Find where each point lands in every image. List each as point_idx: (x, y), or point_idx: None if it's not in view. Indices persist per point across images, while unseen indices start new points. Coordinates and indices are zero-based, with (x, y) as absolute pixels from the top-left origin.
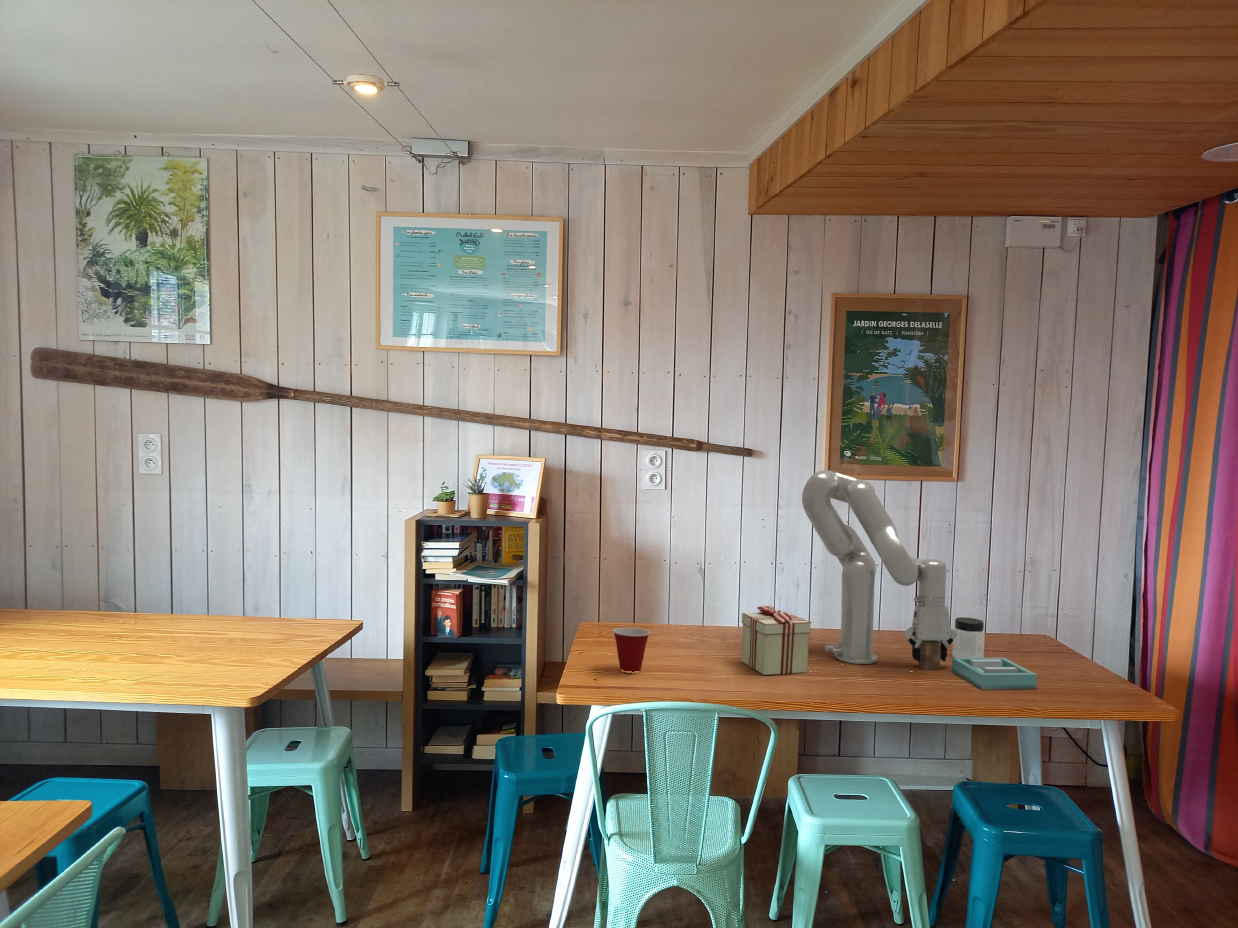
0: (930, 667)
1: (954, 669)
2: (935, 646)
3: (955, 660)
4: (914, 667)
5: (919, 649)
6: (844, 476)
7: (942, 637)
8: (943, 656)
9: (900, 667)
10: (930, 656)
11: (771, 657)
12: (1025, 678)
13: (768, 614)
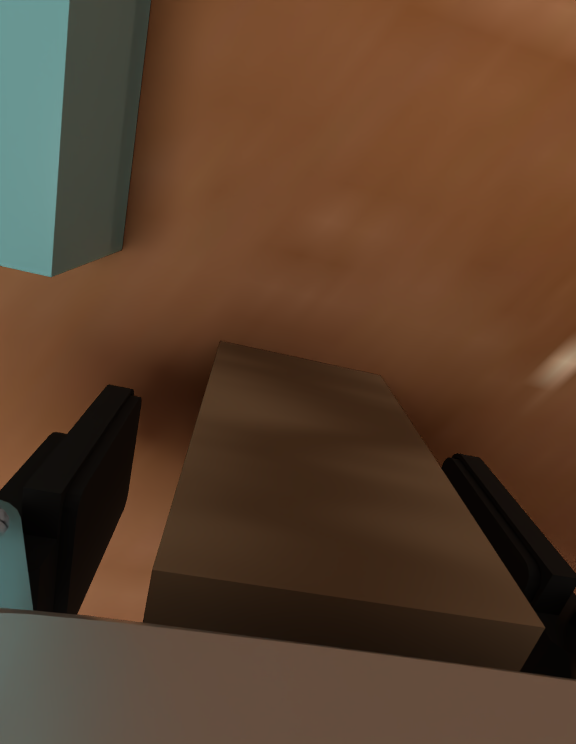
0: (329, 370)
1: (117, 182)
2: (295, 526)
3: (66, 151)
4: (432, 453)
5: (545, 556)
6: None
7: (79, 713)
8: (126, 418)
9: (559, 480)
10: (357, 433)
11: None
12: None
13: None
